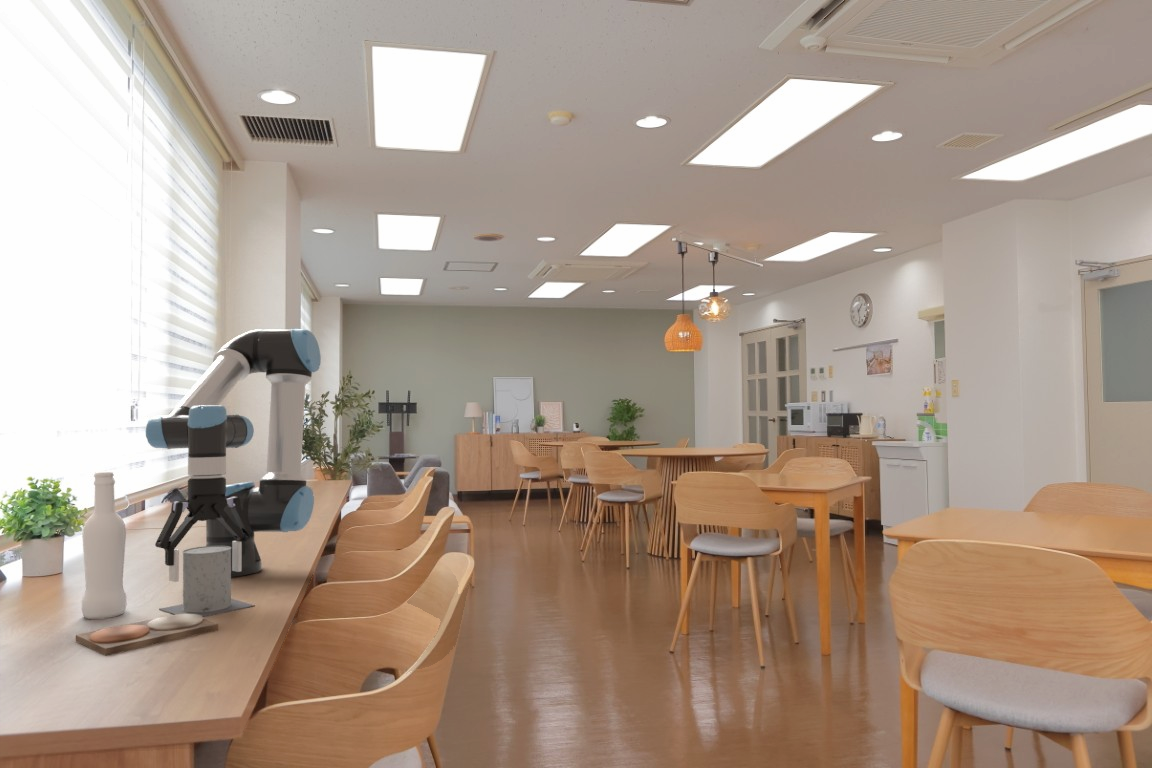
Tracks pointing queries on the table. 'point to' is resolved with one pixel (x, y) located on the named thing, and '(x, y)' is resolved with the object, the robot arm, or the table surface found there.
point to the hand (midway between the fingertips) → (206, 576)
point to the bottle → (104, 554)
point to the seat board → (145, 633)
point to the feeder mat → (234, 606)
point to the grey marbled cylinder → (206, 579)
